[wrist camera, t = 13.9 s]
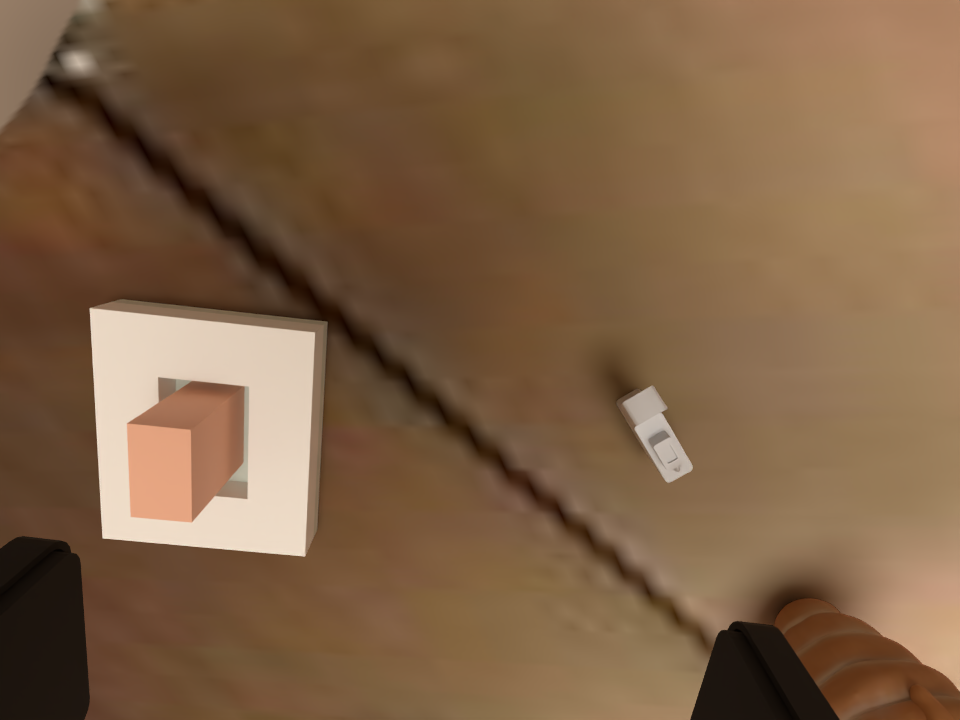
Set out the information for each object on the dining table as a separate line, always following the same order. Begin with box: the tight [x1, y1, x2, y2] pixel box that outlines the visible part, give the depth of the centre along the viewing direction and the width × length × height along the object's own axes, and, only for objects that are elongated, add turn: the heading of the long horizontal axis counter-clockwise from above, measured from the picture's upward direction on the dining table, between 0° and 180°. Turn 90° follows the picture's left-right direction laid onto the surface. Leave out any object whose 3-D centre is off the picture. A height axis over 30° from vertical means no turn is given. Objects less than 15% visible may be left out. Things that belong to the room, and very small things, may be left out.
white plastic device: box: [616, 385, 693, 482], centre depth 33 cm, size 7×2×8 cm, turn 32°
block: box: [127, 381, 245, 523], centre depth 32 cm, size 5×3×7 cm, turn 173°
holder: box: [90, 299, 328, 556], centre depth 35 cm, size 14×12×3 cm
